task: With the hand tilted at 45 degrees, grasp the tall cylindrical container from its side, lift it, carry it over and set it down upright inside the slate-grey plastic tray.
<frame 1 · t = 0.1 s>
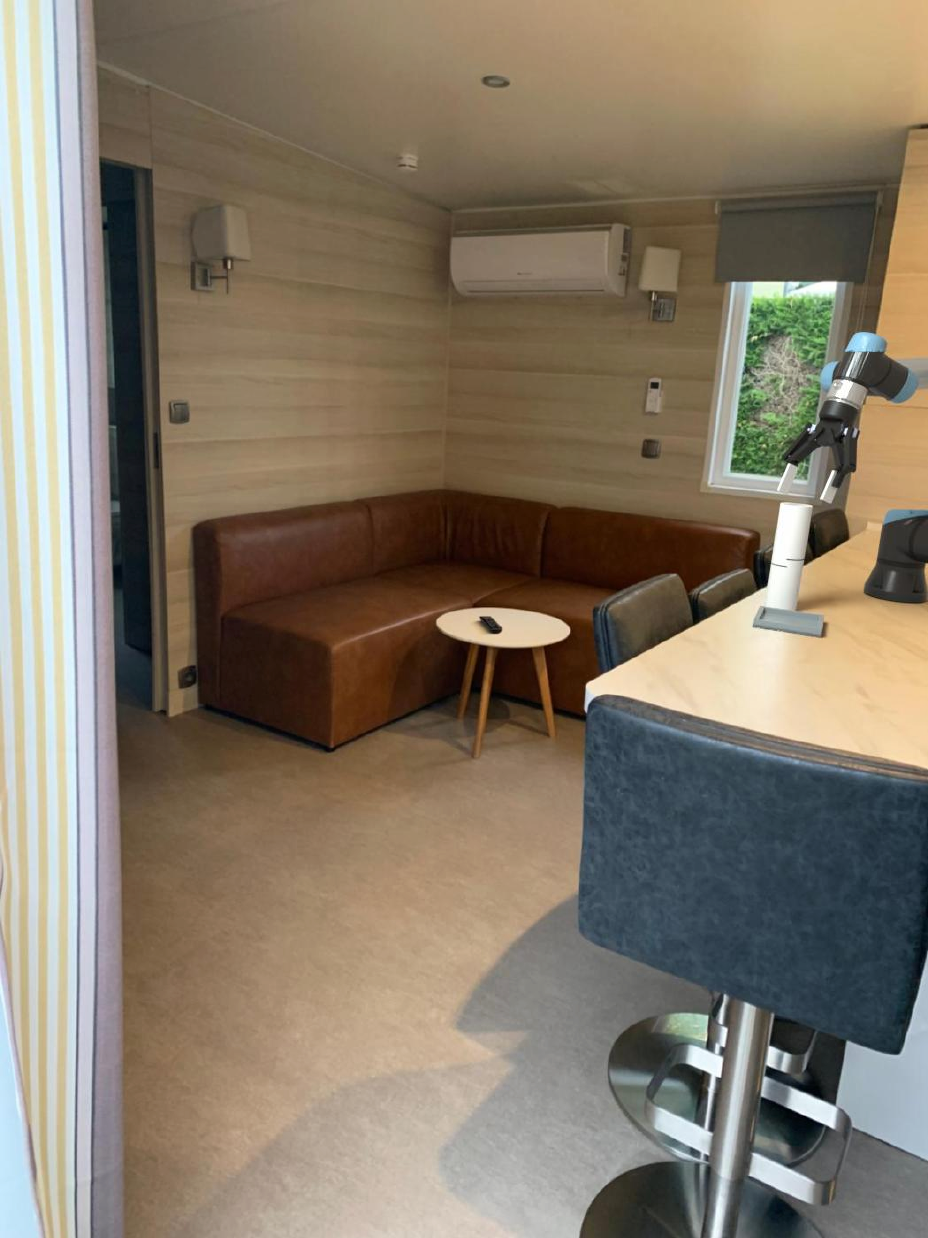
hand: (803, 497, 197), 28 cm above the table, tool tilted 20°, fingers open, 13 cm apart
tray: (788, 624, 198), on the table
cylindrical container: (779, 609, 213), on the table
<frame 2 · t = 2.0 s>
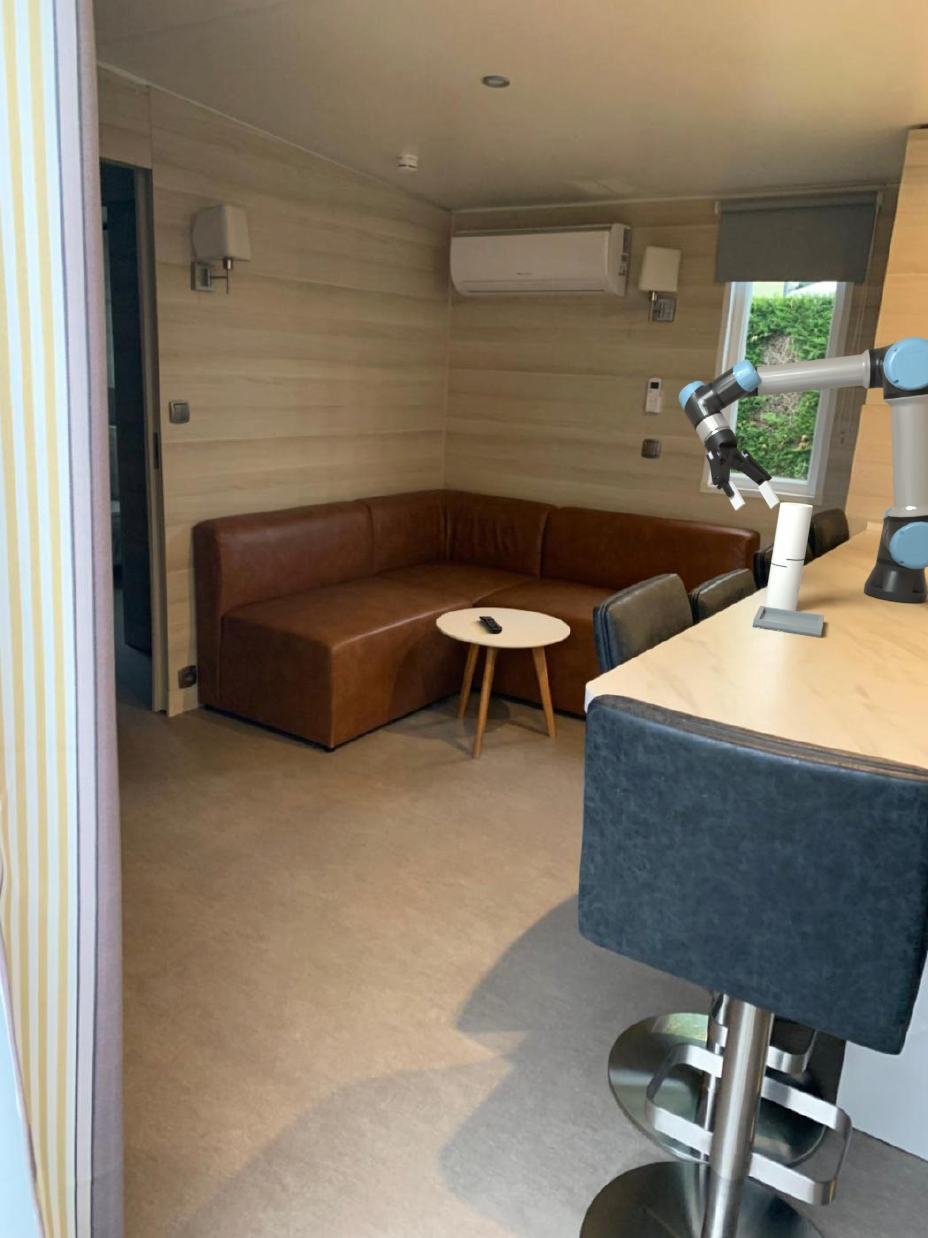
hand: (758, 506, 215), 23 cm above the table, tool tilted 45°, fingers open, 13 cm apart
nothing on the table moved.
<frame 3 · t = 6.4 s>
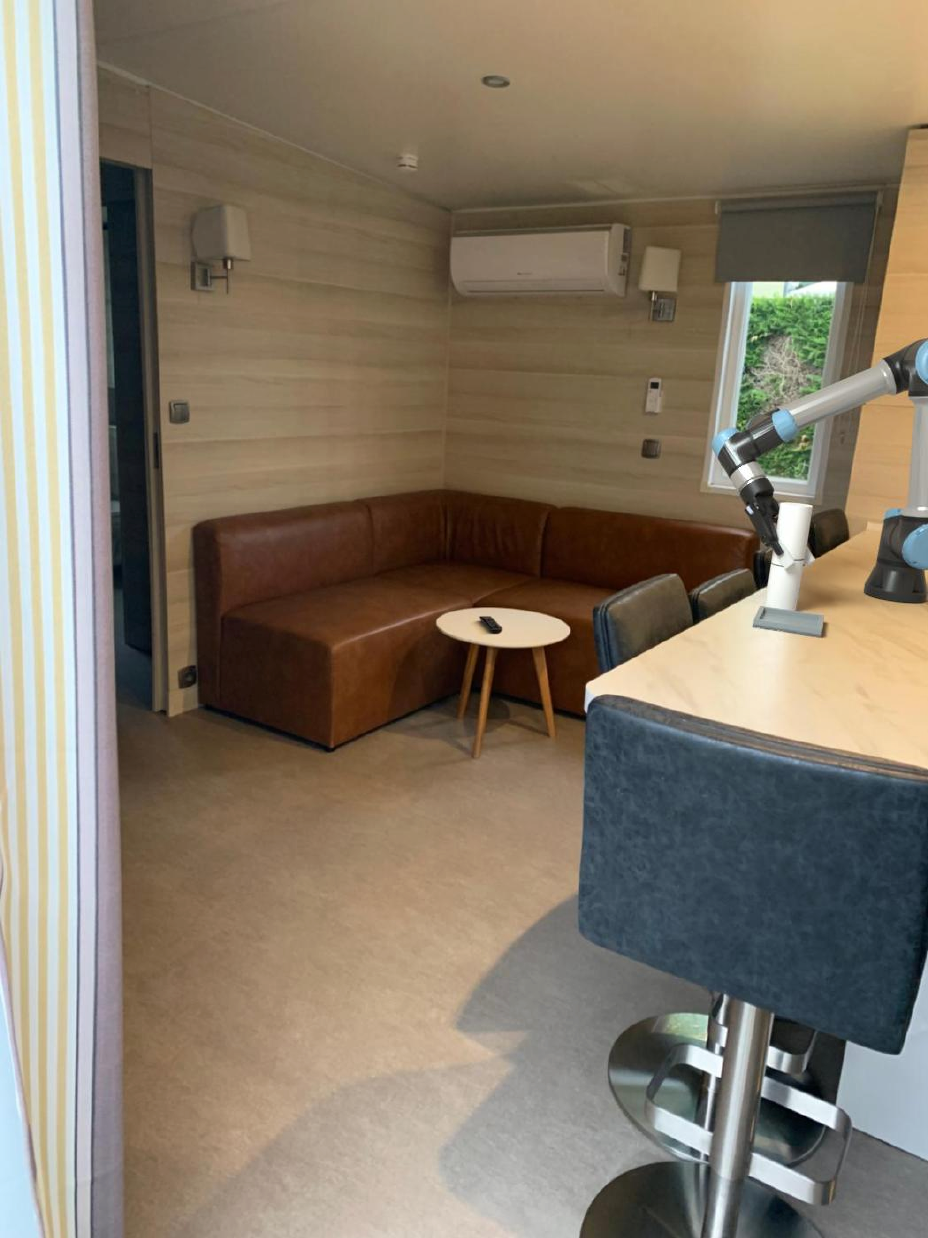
hand: (800, 564, 207), 12 cm above the table, tool tilted 45°, fingers closed on cylindrical container, 7 cm apart
cylindrical container: (779, 609, 213), on the table, touching gripper
when the fingers open (13 cm above the table, at t = 11.8 s): cylindrical container drops 1 cm, resting on tray.
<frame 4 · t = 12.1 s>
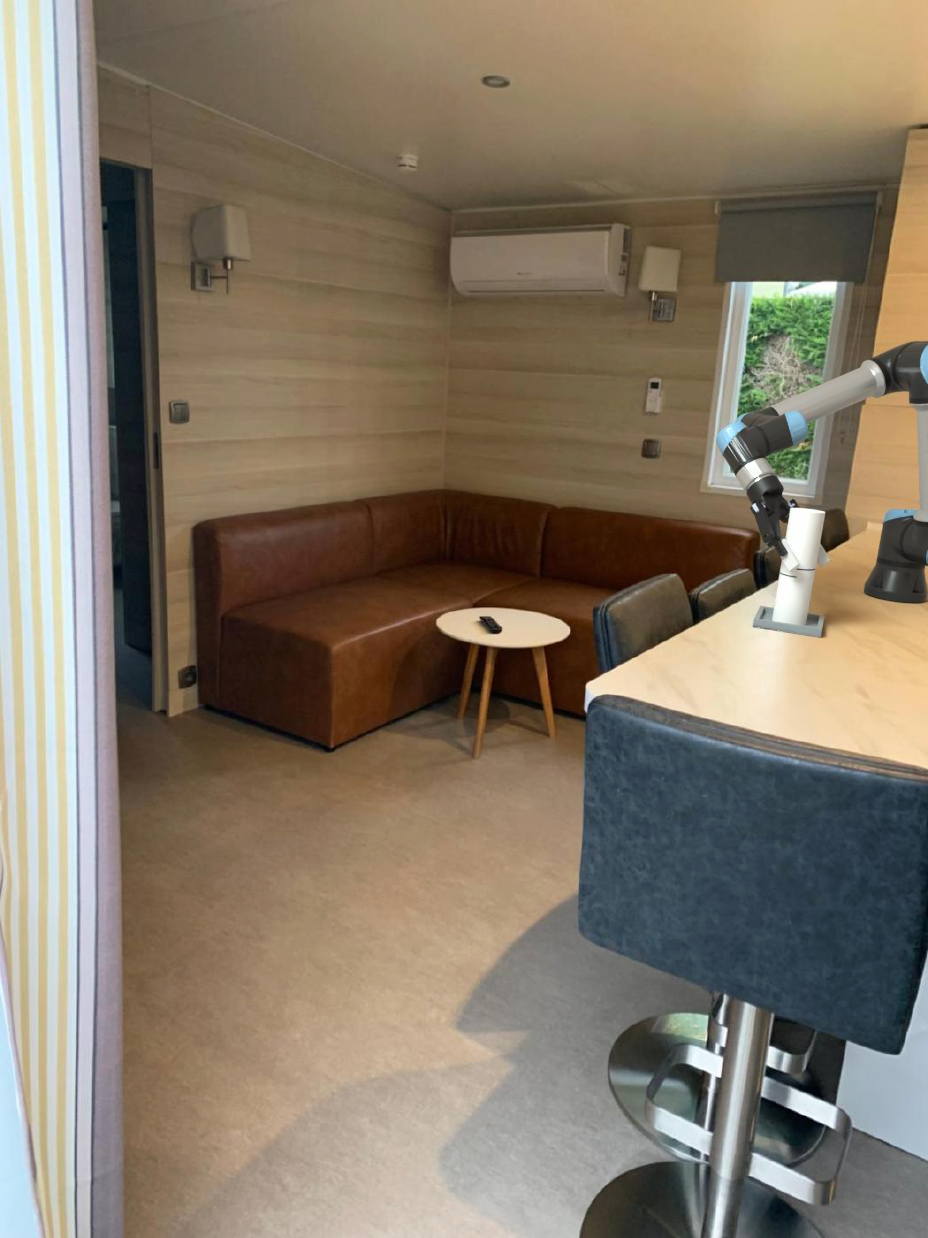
hand: (810, 565, 192), 14 cm above the table, tool tilted 45°, fingers open, 10 cm apart
cylindrical container: (788, 622, 198), resting on tray
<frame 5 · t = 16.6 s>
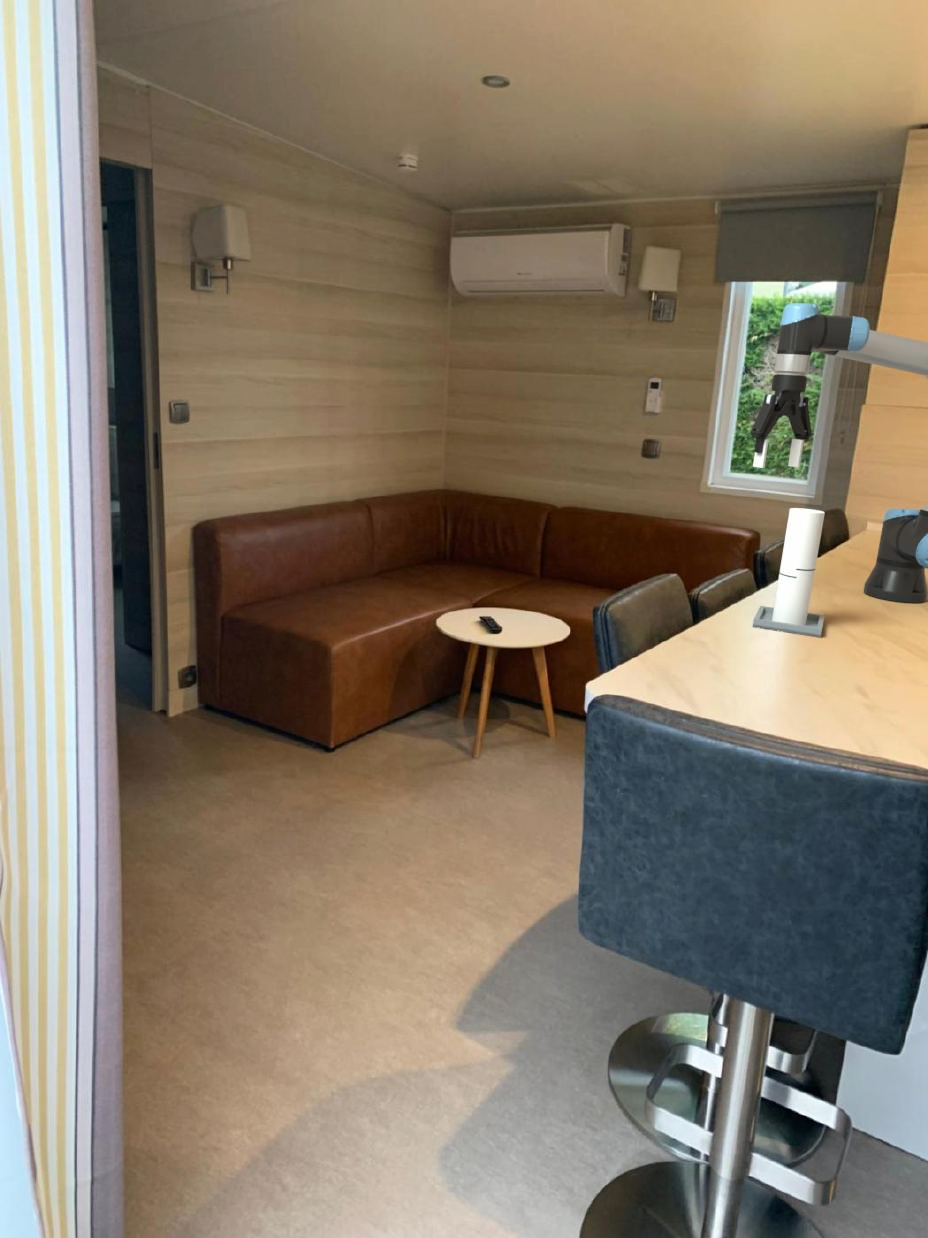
hand: (776, 467, 211), 33 cm above the table, tool pointing down, fingers open, 13 cm apart
nothing on the table moved.
at the end: cylindrical container inside the target area on the tray (0.1 cm from its centre), point 0.4 cm above the tray's base; cylindrical container tilted 0°; the gripper is holding nothing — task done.
